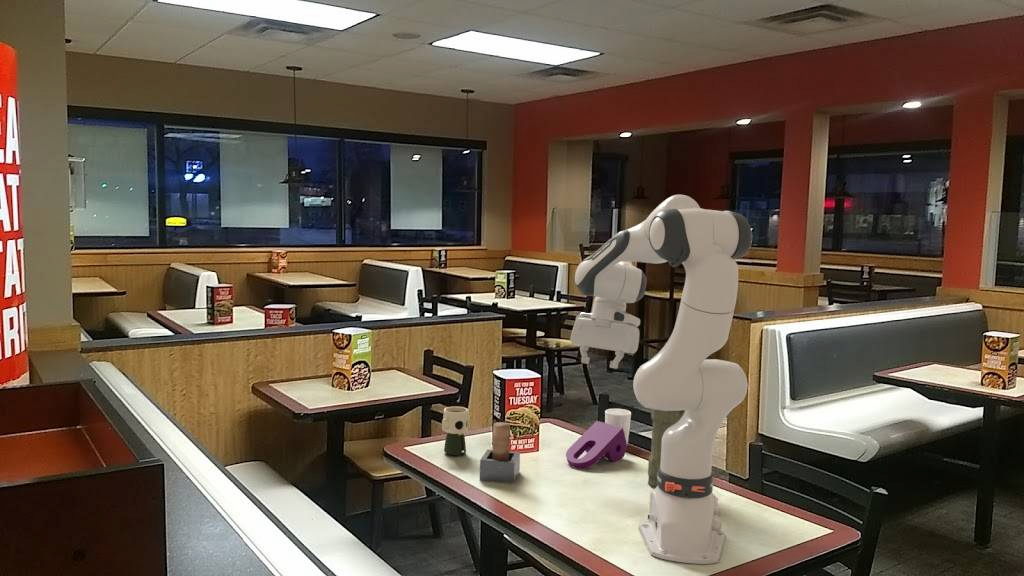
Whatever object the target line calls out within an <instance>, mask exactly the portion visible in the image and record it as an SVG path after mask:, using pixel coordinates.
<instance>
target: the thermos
mask: <svg viewBox="0 0 1024 576" xmlns="http://www.w3.org/2000/svg"><path fill="white" fill-rule="evenodd" d="M684 412H685V410H682V411H661V410H655V409H651V412H650V413H651V414H650V416H651V417H650V418H651V420H652V430H651V447H650V450H651V451H650V455H649V458H648V464H647V465H648V466H647V467H648V468H647V474H648V475H647V476H648V481H647V484H648V486H649V487H650V488H651V489H653V490H654V489H655V488H656V487H657V486H658V485H657V473H658V468H659V467H660V461H661V443H662V437H663V434H664V432H665V431H666V430H667V429H668V428H669V427H670V426H672V425H674V424H675V423H677V422H678V421H679V420H680V419H681V417H682V416H683V414H684Z"/></svg>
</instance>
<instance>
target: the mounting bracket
mask: <svg viewBox="0 0 1024 576" xmlns="http://www.w3.org/2000/svg"><path fill="white" fill-rule="evenodd" d="M627 447H628V444H627V442H626V438H625V434H624V431H623V428H621V427H618V426H614V425H610V424H607V423H605V422H603V421H599V420H596V421H595V422H594V423H593V424H592V425H591V426H590V427H589V428H588V429H587V430H586V431H585V432H584V433H583V434H582V435H581V436H579V438H577V440H576V441H575V442H574V443H573V444H572V445H571V446H570V447H569V448H568V449H567V451H566V453H565V457H566V461H567V463H568V466H570V467H572V468H576V469H579V470H580V469H581V470H582V469H583V470H584V469H588V468H591V467H593V466H595V464H597V463H598V461H600V460H601V459H602V457H604V458H605V459H606V460H607V461H610V462H613V463H617V462H619V461H621V460H622V459H623V458H624V456H625V454H626V451H627ZM584 452H586V453H585V455H584V456H583V457H581V456H582V455H583V454H584ZM580 457H581V458H580ZM616 461H617V462H616Z"/></svg>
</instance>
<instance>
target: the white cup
mask: <svg viewBox="0 0 1024 576" xmlns="http://www.w3.org/2000/svg"><path fill="white" fill-rule="evenodd" d="M604 415H605V416H604V423H607V424H610V425H614V426H618V427H621V428H623V431H624V434H625V438H626V442H627V445H628V444H629V435H630V430H631V428H630V427H631V418H632V412H631V411H630V410H628V409H625V408H624V409H623V408H608V409H606V410H604Z"/></svg>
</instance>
